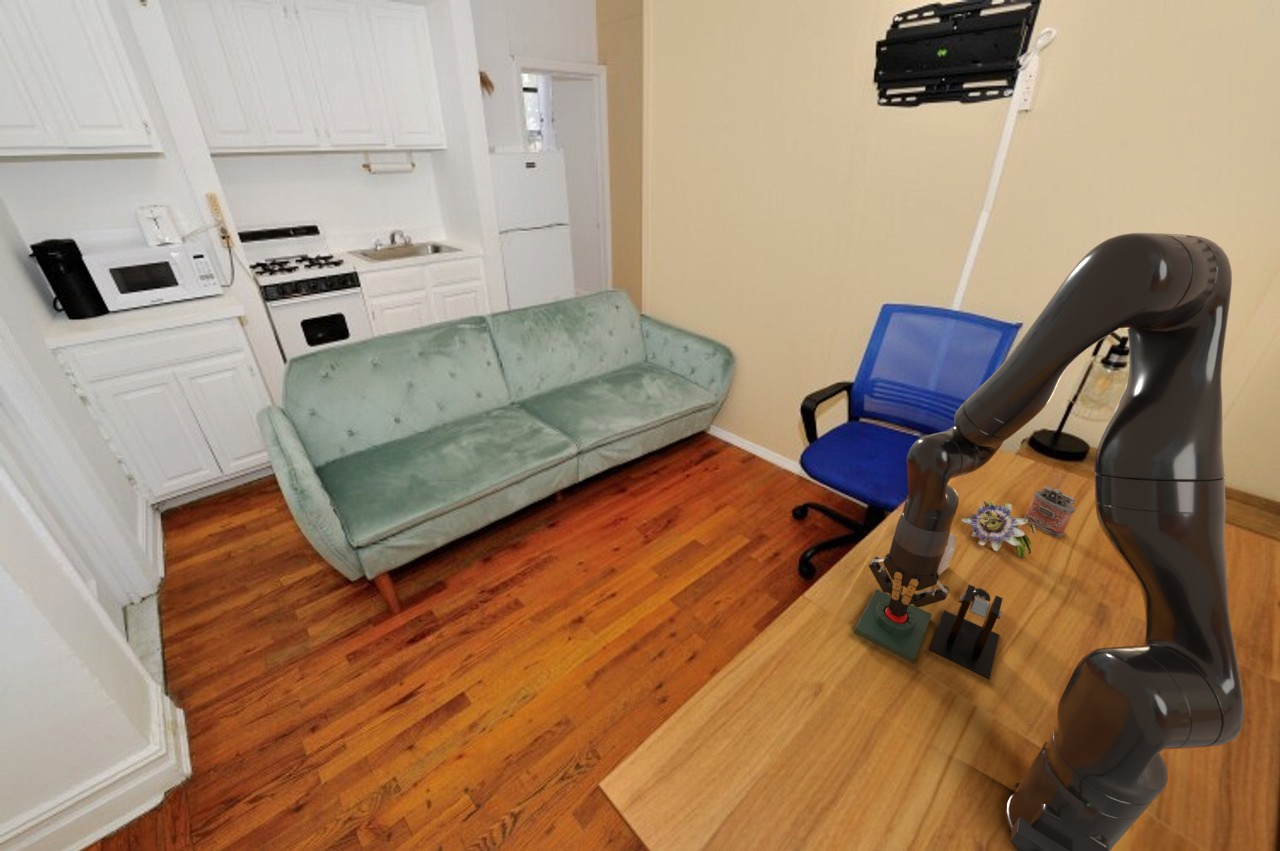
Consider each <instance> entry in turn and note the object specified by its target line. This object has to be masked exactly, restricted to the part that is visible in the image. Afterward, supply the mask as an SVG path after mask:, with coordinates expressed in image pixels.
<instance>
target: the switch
mask: <svg viewBox="0 0 1280 851" xmlns="http://www.w3.org/2000/svg"><path fill="white" fill-rule="evenodd" d="M971 602H972V603H971V604H970V605H971V606H970V608H969V611H970V613H973V614H975V615H978V616H980V617H982V618H985V619H986V617H987V614H988V612H989V610H990V607H991V595H990V594H989V592H988V591H987V590H986V589H983V588H981V587H975V590H974V593H973V596H972V599H971Z"/></svg>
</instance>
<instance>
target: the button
mask: <svg viewBox="0 0 1280 851" xmlns="http://www.w3.org/2000/svg"><path fill="white" fill-rule="evenodd" d="M891 612H892V611H891V610H889V608H888V607H887V608H886V610H885V616H886V617H887V618H888V619H889V620H891V621H893V622H895V623H900V624H903V623H906V620H907V614H905V615H904V616H901V615H900V617H897V616H895V615H896V614H895V615H893V614H891Z"/></svg>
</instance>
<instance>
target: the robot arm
mask: <svg viewBox="0 0 1280 851" xmlns="http://www.w3.org/2000/svg"><path fill="white" fill-rule="evenodd" d="M1232 284H1233V272H1232V267H1231V262H1230V259H1229V257H1228V255H1227V254H1226V252H1225V250H1224V249H1223V248H1222V247H1221V246H1219V245H1218V244H1217V243H1216V242H1215V241H1212V240H1210V239H1208V238H1206V237H1204V236H1203V237H1202V236H1199V235H1194V234H1181V233H1162V232H1161V233H1156V232H1131V233H1124V234H1119V235H1115V236H1113V237H1109V238H1108V239H1105V240H1104V241H1101V242H1099V243H1098V244H1097V245H1096V246H1094V247H1093V248H1091V250H1089V251H1088V252H1087V253H1086V254H1085V255H1084V256H1083V257H1082V258H1081V259H1080V260H1079V262H1078V263H1076V265H1075V266H1074V267H1073V269H1072V270H1071V271H1070V272H1069V273H1068V275H1067V276H1066V277H1065V279H1064V280H1063V281H1062V283H1061V284H1060V285H1059V287H1058V288H1057V290H1056V291H1055V293H1054V294H1053V296H1052V297H1051V298H1050V300H1049V301H1048V302H1047V304H1046V305H1045V307H1044V308H1043V310H1042V311H1041V312H1040V314H1039V315H1038V316H1037V318H1036V319H1035V320H1034V322H1033V323H1032V324H1031V325H1030V327H1029V328H1028V330H1027V331H1026V333H1025V334H1024V335H1023V337H1022V338H1021V340H1019V342H1018V344H1017V345H1016V346H1015V347H1014V349H1013V350H1012V352H1011V353H1010V354H1009V356H1008V357H1007V358H1006V359H1005V360H1004V361H1003V363H1002V364H1001V365H1000V366H999V367H998V368H997V369H996V371H994V373H992V374H991V375H990V376H989V377H988V379H987V380H985V381H984V383H982V384H981V385H980V386H979V387H978V388H977V389H976V390H975V391H974V392H973V393H972V394H971V395H970V396H969V397H968V398H967V399H966V400H965V401H964V402H963V403H961V405H960V406H959V407H958V408H957V410H956V412H955V413H954V417H953V424H954V425H953V426H952V427H951V428H949V429H947V430H943V431H940V432H935V433H932V434H927V435H924V436H922V437H919V438H917V440H915V441H914V443H913V444H912V446H911V447H910V448H909V450H908V453H907V456H906V476H907V478H906V479H907V490H908V492H907V495H906V499H905V502H904V505H903V509H902V512H901V515H900V516H899V518H898V520H897V524H896V529H895V532H894V533H893V534H894V535H893V537H892V542H891V545H890V549H889V552H888V553H887V554H886V555H885V557H884V558H880V557H878V556H873V557H872V560H871V561H870V563H869V564H868V568H869V570H870V571H871V573H872V575H873V577H874V578H875V580H876V582H877V584H878V585H879V587H880V590H881V591H882V592H884V593H887V594H889V595H891V600H890V604H889V607H888V608H889V610H891V611H892V612H891V614H893V615H895V614H896V615H895V616H897V617H900V615H901V616H904V615H905V614H906V612H907V609H908V606H909V604H911V605H913V606H915V607H917V608H923V607H926V606H929V605H932V604H936V603H939V602H942V601H946V599H947V597H948V594H949V591H950V588H949V586H948V585H944V584H942V583H941V582H940V581H939V579H940V575H939V574H938V572H937V571H938V568H939V565H940V562H941V559H942V557H943V554H944V551H945V548H946V546H947V544H948V539H949V535H950V534H951V528H952V525H953V522H954V519H955V516H956V513H957V511H958V507H959V502H960V498H959V494H958V492H957V491H956V489H955V488H954V487H952V486H951V485H949V484H948V483H949V482H950V481H951V480H952V479H954V478H959V477H961V476H965V475H968V474H971V473H974V472H975V471H977V470H979V469H981V468H982V467H984V466H985V464H987V463H988V462H989V461H990V460H991V459H992V458H993V457H994V455H995V454H996V453H997V452H998V451H999V449H1000V448H1001V447H1002V445H1003V444H1004V442H1005V441H1007V440H1008V439H1009V438H1011V437H1013V435H1015V434H1016V433H1018V431H1020V429H1022V428H1024V427H1025V426H1026V425H1027V424H1028V423H1029V422H1031V421H1032V420H1033V419H1034V418H1035V417H1037V415H1039V414H1040V412H1042V410H1043V409H1044V408H1046V406H1047V405H1048V403H1049V402H1050V400H1051V399H1052V397H1053V395H1054V393H1055V390H1056V388H1057V386H1058V384H1059V382H1060V379H1061V378H1062V376H1063V374H1064V372H1066V370H1067V369H1068V367H1069V366H1071V364H1072V363H1073V362H1074V361H1075V360H1076V359H1077V358H1078V357H1079V356H1081V354H1083V353H1084V352H1086V351H1087V350H1088V349H1089V348H1091V347H1093V346H1094V345H1096V344H1097V343H1098V342H1100V341H1102V340H1103V339H1105V338H1106V337H1108V336H1109V335H1111V334H1113V333H1114V332H1116V331H1118V330H1119V329H1123V330H1124V329H1127V336H1128V352H1129V354H1128V356H1129V357H1128V358H1129V369H1128V377H1127V382H1126V387H1125V389H1124V393H1123V395H1122V396H1121V399H1120V401H1119V402H1118V405H1117V407H1116V408H1115V411H1114V412H1113V415H1111V416H1112V417H1111V419H1110V420H1109V422H1108V424H1107V425H1106V428H1105V430H1104V432H1103V434H1102V436H1101V438H1100V441H1099V443H1098V446H1097V449H1096V453H1095V457H1094V499H1095V500H1094V502H1095V503H1094V504H1095V511H1096V512H1095V514H1096V518H1097V521H1098V524H1099V525H1100V528H1101V530H1102V531H1103V533H1104V535H1105V537H1106V539H1107V540H1108V541H1109V543H1110V544H1111V546H1112V548H1113V549H1114V550H1115V552H1116V553H1117V555H1118V556H1119V557H1120V559H1121V561H1123V563H1124V564H1125V565H1126V568H1128V570H1129V571H1130V572H1131V574H1132V576H1133V578H1134V579H1135V580H1136V583H1137V585H1138V587H1139V589H1140V592H1141V595H1142V600H1143V605H1144V614H1145V616H1144V617H1145V633H1144V642H1143V645H1126V646H1111V647H1099V648H1095V649H1092V650H1090V651H1089V652H1087V653H1086V654H1085V655H1084V656H1083V657H1082V658H1081V659H1080V660H1079V661H1078V663H1077V664H1076V666H1075V667H1074V669H1073V672H1072V673H1071V675H1070V678H1069V679H1068V682H1067V684H1066V686H1065V688H1064V689H1063V693H1062V694H1061V696H1060V699H1059V701H1058V704H1057V710H1056V720H1057V722H1056V724H1055V726H1054V728H1053V730H1052V731H1051V733H1050V734H1049V735H1048V738H1047V739H1046V741H1045V742H1044V744H1043V745H1042V746H1041V748H1040V749H1039V752H1038V753H1037V755H1036V756H1035V758H1034V760H1033V762H1032V763H1031V765H1030V766H1029V768H1028V770H1027V771H1026V773H1025V775H1024V776H1023V777H1022V779H1021V781H1019V782H1017V783H1015V785H1014V786H1013V789H1015V791H1014V793H1013V794H1012V795H1010V796H1009V798H1008V800H1007V802H1006V805H1005V809H1004V810H1005V811H1004V812H1005V820H1006V823H1007V827H1008V829H1009V831H1010V833H1011V834H1010V835H1011V836H1010V843H1012V844H1013V845H1015V849H1016V851H1111V850H1112V849H1113V848H1114V847H1115V845H1117V843H1118V842H1119V841H1120V840H1121V839H1122V837H1124V835H1126V833H1127V832H1128V831H1129V830H1130V828H1132V826H1133V825H1134V824H1135V822H1137V821H1138V820H1139V818H1140V817H1141V816H1142V815H1143V814H1144V813H1145V812H1146V810H1147V809H1148V808H1149V807H1151V805H1153V802H1154V801H1155V800H1156V799H1157V798H1158V797H1159V796H1160V795H1161V793H1162V792H1163V791H1164V790H1165V788H1166V787H1167V784H1168V780H1169V772H1168V768H1167V764H1166V763H1165V760H1164V758H1163V757H1162V754H1161V752H1163V751H1164V750H1178V749H1179V750H1180V749H1197V748H1209V747H1217V746H1222V745H1225V744H1228V743H1230V742H1232V741H1233V740H1234V739H1236V738H1237V737H1238V736H1239V734H1240V733H1241V730H1242V728H1243V725H1244V720H1245V703H1244V693H1243V686H1242V680H1241V675H1240V669H1239V663H1238V658H1237V657H1238V656H1237V652H1236V647H1235V640H1234V636H1233V635H1234V634H1233V629H1232V623H1231V615H1230V606H1229V592H1228V589H1229V588H1228V574H1227V557H1226V543H1225V542H1226V541H1225V540H1226V539H1225V538H1226V536H1225V535H1226V532H1225V531H1226V530H1225V529H1226V515H1227V514H1226V513H1227V512H1226V508H1227V507H1226V506H1227V505H1226V504H1227V503H1226V478H1225V477H1226V475H1225V474H1226V473H1225V465H1224V454H1223V391H1222V370H1223V369H1222V368H1223V360H1224V359H1223V358H1224V351H1225V350H1224V348H1225V342H1226V335H1227V334H1226V333H1227V326H1228V320H1229V312H1230V311H1229V310H1230V306H1231V296H1232ZM904 588H906V589H905V591H904ZM928 588H930V589H928ZM925 589H927V590H925ZM922 590H924V591H922ZM903 591H904V593H903ZM916 591H917V592H918V593H915V592H916ZM919 591H921V592H919ZM902 593H903V594H902Z"/></svg>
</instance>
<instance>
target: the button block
mask: <svg viewBox="0 0 1280 851" xmlns="http://www.w3.org/2000/svg"><path fill="white" fill-rule="evenodd" d="M890 600H891V595H890V594H889V593H885V592H883V591H882V590H881V589H877V588H876V589H875V590H874V592H873V594H872V596H871V598H870V599H869V601H868V603H867V605H866V607H865V608H864V611H863V613H862V614H861V616H860V618H859V620H858V622H857V624H856V625H855V627H854V631H853V634H854V635H857V636H858V637H860V638H863V639H865V640H866V641H868V642H870V643H872V644H874V645H876V646H878V647H880V648H882V649H884V650H886V651H888V652H890V653H892V654H894V655H896V656H898V657H900V658H901V659H904V660H905V661H907V662H909V663H911V664H914V662H915V660H916V658H917V655H918V652H919V649H920V647H921V644H922V641H923V639H924V637H925V634H926V631H927V629H928V626H929V623H930V620H931V619H932V613H931V612H929V611H927V610H924V609H922V608H921V607H915V606H914V604H909V606H908V609H907V612H906V614H907V620H906V623H903V624H900V623H895V622H893V621H891V620H889V619H888V618H887V617H886V616H885V610H886V608H887V607H889V604H890Z"/></svg>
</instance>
